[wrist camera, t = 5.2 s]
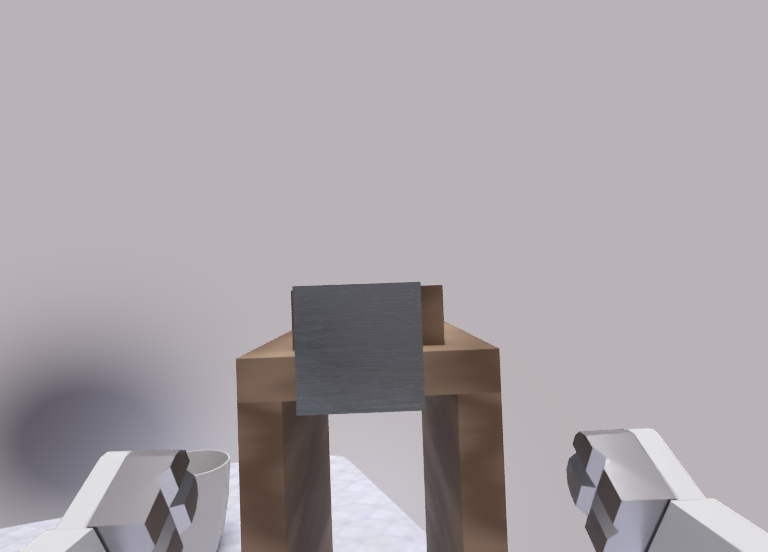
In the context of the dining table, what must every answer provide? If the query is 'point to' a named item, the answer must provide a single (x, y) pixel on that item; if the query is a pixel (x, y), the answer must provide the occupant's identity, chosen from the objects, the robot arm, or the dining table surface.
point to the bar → (358, 348)
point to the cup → (208, 500)
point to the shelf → (311, 446)
